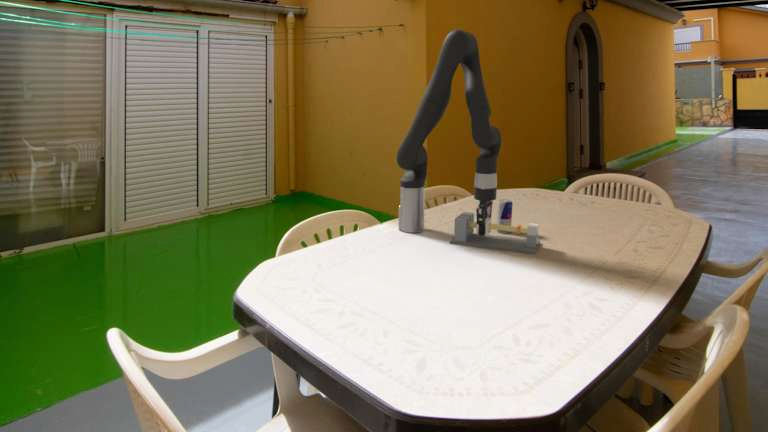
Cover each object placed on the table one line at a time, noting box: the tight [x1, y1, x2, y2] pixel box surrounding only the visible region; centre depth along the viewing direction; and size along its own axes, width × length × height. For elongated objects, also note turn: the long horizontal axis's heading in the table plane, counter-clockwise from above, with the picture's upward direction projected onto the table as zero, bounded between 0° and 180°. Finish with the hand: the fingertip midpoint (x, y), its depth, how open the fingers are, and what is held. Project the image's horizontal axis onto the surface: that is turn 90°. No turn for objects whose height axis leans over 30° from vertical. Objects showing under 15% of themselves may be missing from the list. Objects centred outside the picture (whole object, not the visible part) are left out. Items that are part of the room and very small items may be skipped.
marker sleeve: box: [475, 217, 492, 235], centre depth 160 cm, size 4×5×5 cm
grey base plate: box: [449, 232, 541, 255], centre depth 160 cm, size 29×12×1 cm, turn 65°
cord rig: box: [453, 211, 540, 248], centre depth 159 cm, size 27×11×8 cm, turn 65°
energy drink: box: [496, 198, 513, 234], centre depth 173 cm, size 5×5×12 cm
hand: (483, 232), depth 161 cm, fingers closed on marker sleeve, 5 cm apart
